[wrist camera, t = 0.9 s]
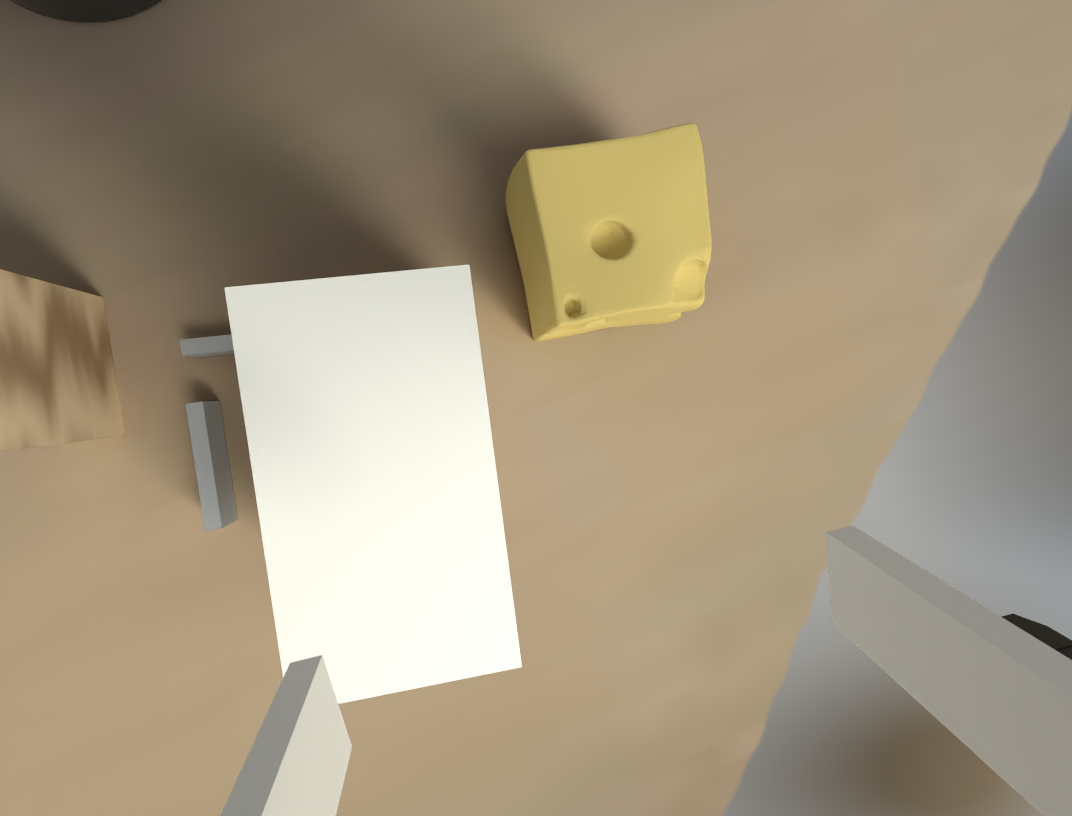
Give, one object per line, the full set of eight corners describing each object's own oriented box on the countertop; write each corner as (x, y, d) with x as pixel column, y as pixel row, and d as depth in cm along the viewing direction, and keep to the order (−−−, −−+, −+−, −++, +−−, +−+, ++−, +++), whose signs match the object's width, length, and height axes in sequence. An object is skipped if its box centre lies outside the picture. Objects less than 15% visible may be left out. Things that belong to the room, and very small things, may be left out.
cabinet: (194, 342, 36) (11, 307, 21) (463, 314, 39) (469, 264, 24) (235, 608, 37) (87, 754, 22) (496, 563, 39) (521, 667, 25)
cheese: (665, 324, 41) (732, 301, 31) (524, 348, 39) (548, 333, 29) (641, 184, 40) (702, 116, 30) (498, 203, 39) (512, 138, 29)
